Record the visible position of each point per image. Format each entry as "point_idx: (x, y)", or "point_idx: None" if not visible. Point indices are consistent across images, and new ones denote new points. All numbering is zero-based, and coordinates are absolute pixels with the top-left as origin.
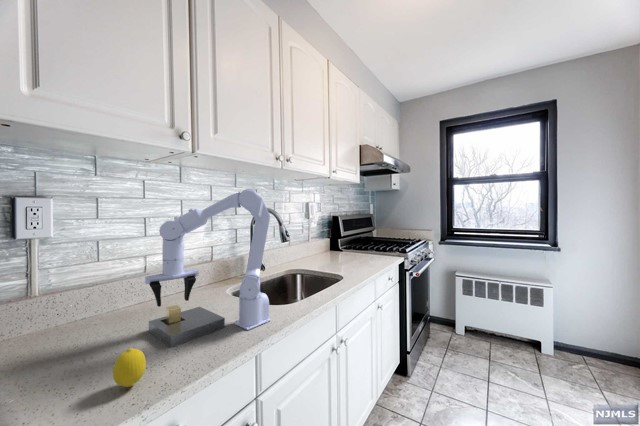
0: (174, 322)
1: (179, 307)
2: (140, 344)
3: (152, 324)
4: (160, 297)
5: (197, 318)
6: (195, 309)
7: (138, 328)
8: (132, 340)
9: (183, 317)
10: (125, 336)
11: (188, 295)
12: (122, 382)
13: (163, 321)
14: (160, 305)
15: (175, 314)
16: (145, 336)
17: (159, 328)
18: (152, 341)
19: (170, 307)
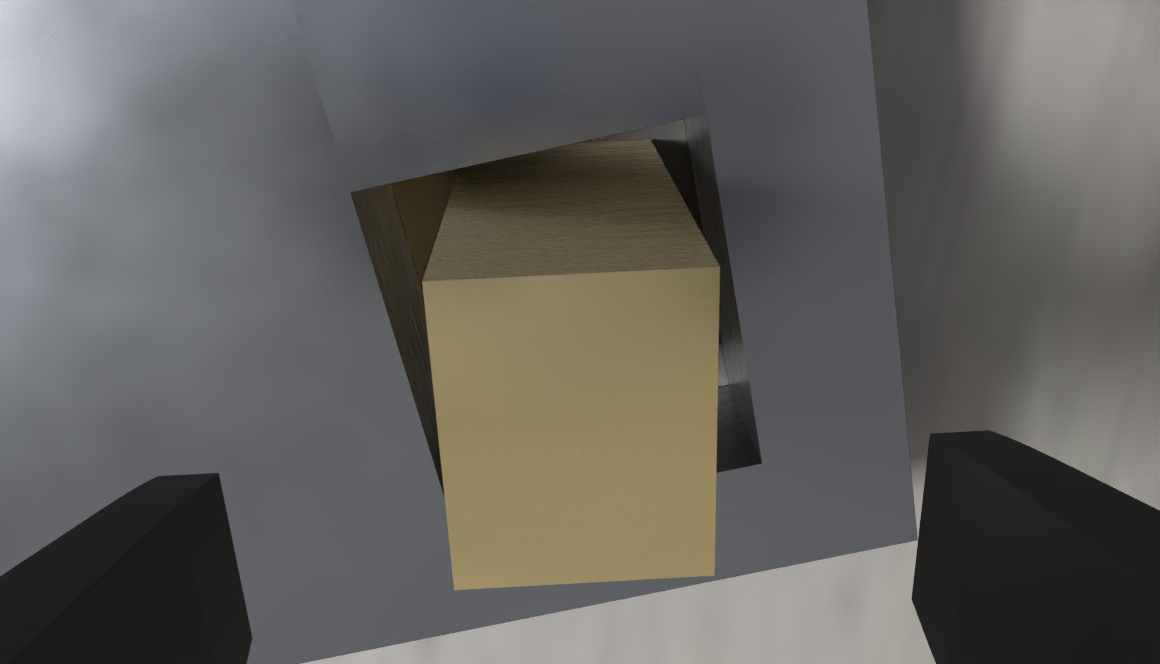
0: (569, 189)
1: (439, 368)
2: (1077, 23)
3: (899, 375)
4: (1113, 556)
5: (115, 108)
6: None
7: None
8: (1114, 258)
9: (372, 353)
10: (1138, 458)
11: (79, 545)
12: None
13: None
14: (953, 443)
15: (554, 231)
16: (944, 285)
17: (866, 64)
18: (916, 14)
19: (630, 504)
